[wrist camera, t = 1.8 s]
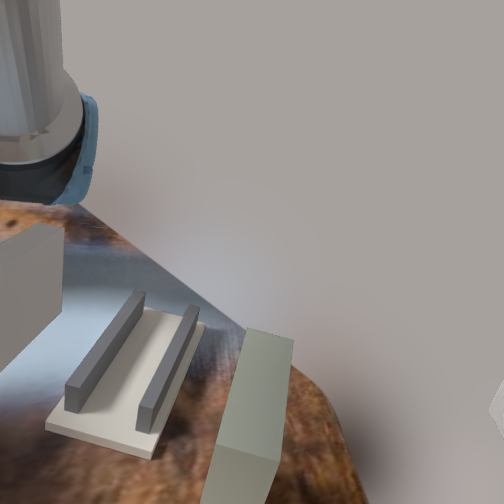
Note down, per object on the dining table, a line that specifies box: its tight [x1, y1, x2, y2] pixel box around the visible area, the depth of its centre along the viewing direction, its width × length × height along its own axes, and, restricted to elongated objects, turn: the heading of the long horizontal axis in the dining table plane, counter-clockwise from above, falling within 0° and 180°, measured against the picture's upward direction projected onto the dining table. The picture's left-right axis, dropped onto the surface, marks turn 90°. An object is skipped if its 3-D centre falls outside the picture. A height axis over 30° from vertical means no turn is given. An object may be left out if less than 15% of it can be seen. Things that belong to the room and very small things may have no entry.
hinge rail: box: [45, 290, 206, 460], centre depth 44 cm, size 18×9×4 cm, turn 172°
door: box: [200, 328, 293, 504], centre depth 29 cm, size 10×3×16 cm, turn 172°
